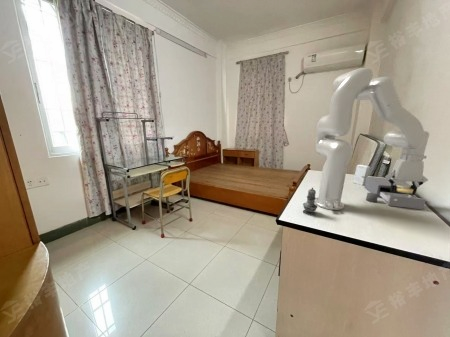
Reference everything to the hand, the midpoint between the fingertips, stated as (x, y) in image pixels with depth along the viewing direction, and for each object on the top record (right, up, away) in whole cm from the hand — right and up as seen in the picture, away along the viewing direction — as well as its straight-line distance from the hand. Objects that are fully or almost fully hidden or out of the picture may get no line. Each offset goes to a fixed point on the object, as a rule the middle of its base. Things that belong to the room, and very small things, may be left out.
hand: (402, 192), depth 91 cm
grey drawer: (0, -5, +3) cm, 6 cm away
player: (+4, -2, +14) cm, 14 cm away
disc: (0, +1, 0) cm, 1 cm away
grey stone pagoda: (-50, -8, -9) cm, 51 cm away
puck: (-12, -5, +4) cm, 13 cm away
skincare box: (+1, +2, +30) cm, 30 cm away
